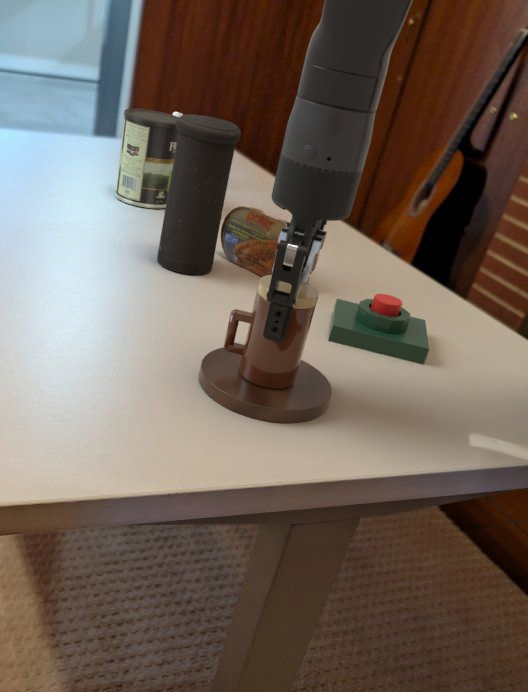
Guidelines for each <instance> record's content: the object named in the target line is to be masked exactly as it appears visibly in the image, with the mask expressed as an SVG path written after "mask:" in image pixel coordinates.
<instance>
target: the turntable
mask: <svg viewBox="0 0 528 692" xmlns="http://www.w3.org/2000/svg"><path fill="white" fill-rule="evenodd" d="M241 358H242V355H240V354H236V353H232V352H228V351H226V350H225V349H224V346H223V347H219V348H216V349H214V350H211V351H210V352H208V353H207V354H206V355H205V356H204V357H203V358H202V360H201V363H200V367H199V368H200V369H199V371H198V380H199V384H200V387H201V388H202V390H203V391H204V393H206V395H208V396H209V397H210V398H211V399H212V400H213V401H215V402H216V403H218V404H219V405H221V406H222V407H224V408H226V409H227V410H230V411H232V412H235V413H237V414H240V415H242V416H245V417H248V418H251V419H252V418H253V419H255V420H260V421H265V422H270V423H279V424H280V423H281V424H296V423H303V422H307V421H308V422H309V421H311V420H315V419H316V418H319V417H321V416H322V414H324V413H325V412H326V410H327V409H328V406H329V403H330V400H331V397H332V393H333V392H332V386H331V383H330V381H329V380H328V378H327V377H326V375H324V374H323V373H322V372H321V371H320V370H319V369H318V368H316V367H315V366H313V365H311V364H310V363H308V362H307V361H305V360H302V359H301V361H300V365H299V368H298V372H297V375H296V379H295V382H294V384H293V385H292V386H290V387H287V388H282V389H273V388H266V387H262V386H259V385H256V384H254V383H252V382H250V381H248V380H246V379H245V378H244V377H243V376H242V375H241V374H240V372H239V367H240V362H241Z"/></svg>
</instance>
